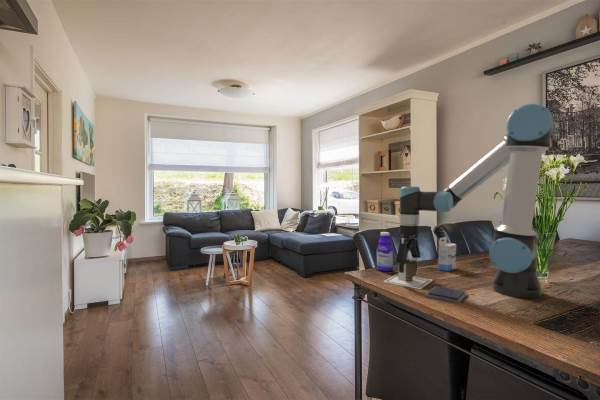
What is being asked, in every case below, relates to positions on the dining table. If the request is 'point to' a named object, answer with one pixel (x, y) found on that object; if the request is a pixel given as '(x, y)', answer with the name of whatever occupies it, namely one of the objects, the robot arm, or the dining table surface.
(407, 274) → the cup
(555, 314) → the dining table surface
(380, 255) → the bottle
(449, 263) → the ink box
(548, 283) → the dining table surface
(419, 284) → the print sheet
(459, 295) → the ink pad
